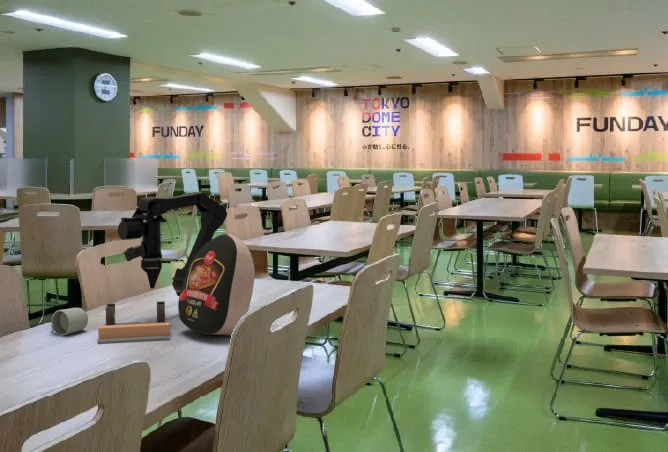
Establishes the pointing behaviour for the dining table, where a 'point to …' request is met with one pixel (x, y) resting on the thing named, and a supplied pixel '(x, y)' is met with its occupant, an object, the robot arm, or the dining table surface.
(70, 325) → the ceramic mug
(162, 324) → the rail
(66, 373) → the dining table surface
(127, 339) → the mat
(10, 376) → the dining table surface
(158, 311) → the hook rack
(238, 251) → the packaged food
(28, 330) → the dining table surface
